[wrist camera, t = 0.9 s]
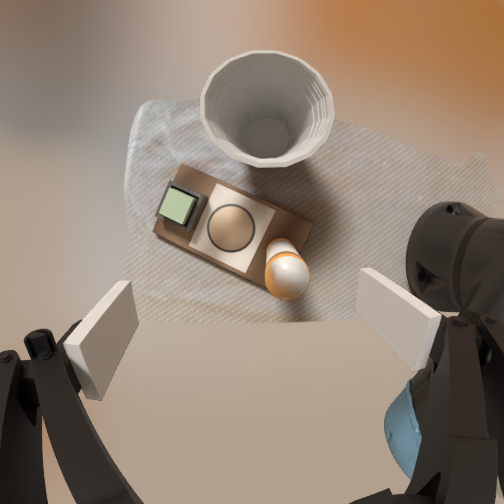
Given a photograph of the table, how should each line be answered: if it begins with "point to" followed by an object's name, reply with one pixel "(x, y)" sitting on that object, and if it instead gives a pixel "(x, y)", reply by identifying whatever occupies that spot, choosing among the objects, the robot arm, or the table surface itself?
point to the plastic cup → (267, 109)
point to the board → (229, 224)
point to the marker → (285, 270)
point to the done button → (178, 206)
